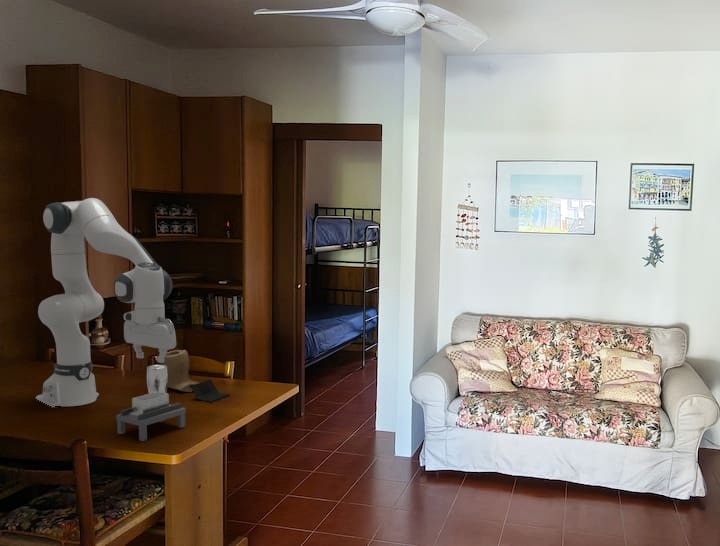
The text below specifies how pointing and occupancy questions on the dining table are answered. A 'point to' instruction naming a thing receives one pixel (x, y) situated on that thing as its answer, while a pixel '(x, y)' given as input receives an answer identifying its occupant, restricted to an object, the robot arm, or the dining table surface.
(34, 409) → the dining table surface
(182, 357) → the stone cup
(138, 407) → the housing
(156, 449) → the dining table surface
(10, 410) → the dining table surface
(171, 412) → the stand
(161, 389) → the beer glass
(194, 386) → the dark grey angled bracket
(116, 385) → the dining table surface
